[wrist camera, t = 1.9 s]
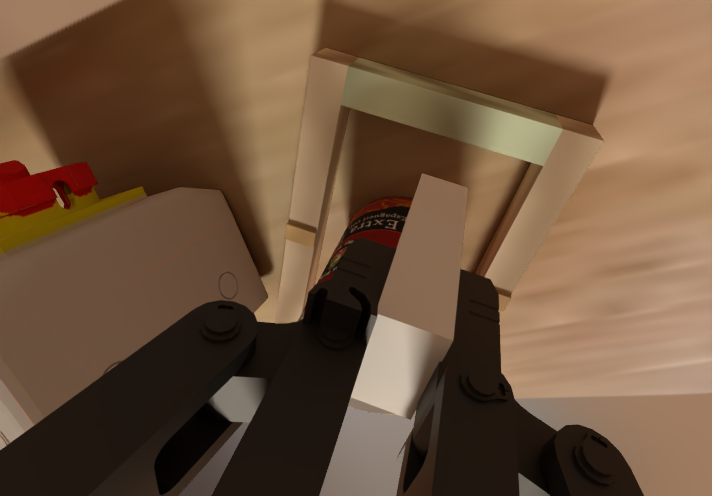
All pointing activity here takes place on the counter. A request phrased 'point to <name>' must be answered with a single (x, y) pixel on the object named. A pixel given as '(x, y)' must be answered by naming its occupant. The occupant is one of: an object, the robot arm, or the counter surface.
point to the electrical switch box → (101, 279)
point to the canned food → (380, 226)
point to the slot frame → (443, 117)
